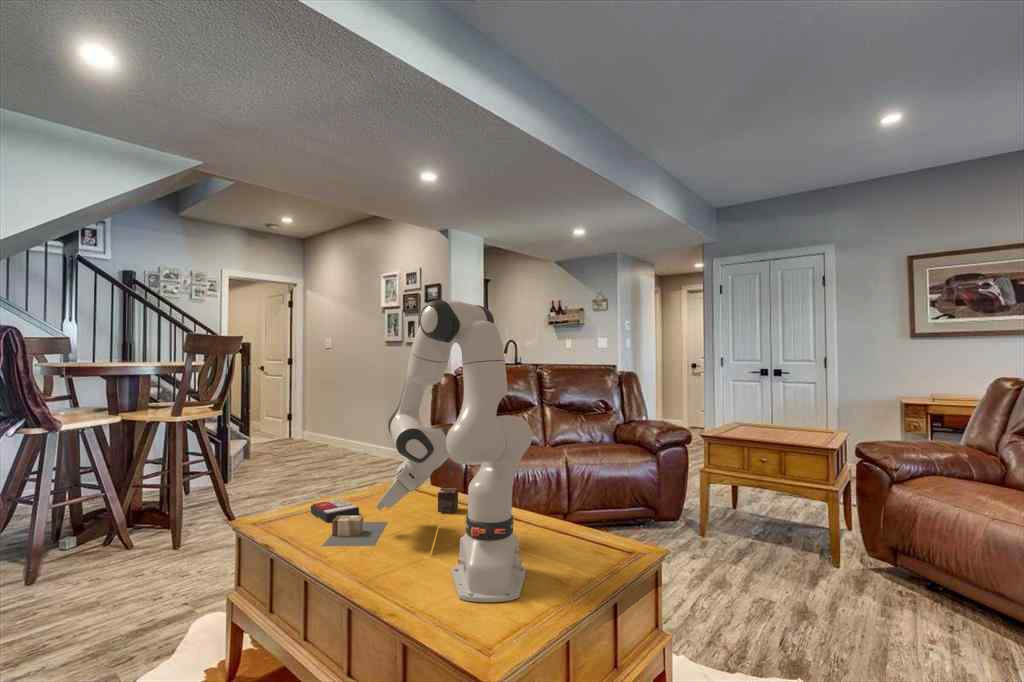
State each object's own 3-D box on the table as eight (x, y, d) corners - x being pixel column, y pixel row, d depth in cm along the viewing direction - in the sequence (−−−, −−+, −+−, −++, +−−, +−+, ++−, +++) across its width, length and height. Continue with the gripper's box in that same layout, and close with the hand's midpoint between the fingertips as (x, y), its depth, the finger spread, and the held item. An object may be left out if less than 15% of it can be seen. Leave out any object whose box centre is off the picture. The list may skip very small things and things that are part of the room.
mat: (374, 547, 143) (374, 545, 143) (321, 548, 142) (321, 545, 142) (388, 523, 163) (388, 521, 163) (341, 524, 162) (341, 522, 162)
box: (458, 508, 180) (458, 488, 180) (454, 514, 174) (455, 492, 174) (441, 508, 180) (441, 487, 180) (437, 513, 174) (437, 492, 174)
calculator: (341, 497, 180) (359, 505, 169) (341, 509, 180) (359, 518, 168) (310, 503, 173) (326, 511, 162) (310, 516, 173) (326, 525, 161)
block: (359, 520, 150) (332, 520, 150) (359, 535, 150) (332, 535, 150) (363, 515, 155) (336, 515, 155) (363, 530, 155) (336, 530, 154)
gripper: (409, 460, 164) (378, 491, 163) (398, 474, 143) (363, 510, 142) (423, 473, 164) (392, 505, 163) (414, 490, 143) (379, 525, 143)
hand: (378, 507), depth 153 cm, fingers closed
